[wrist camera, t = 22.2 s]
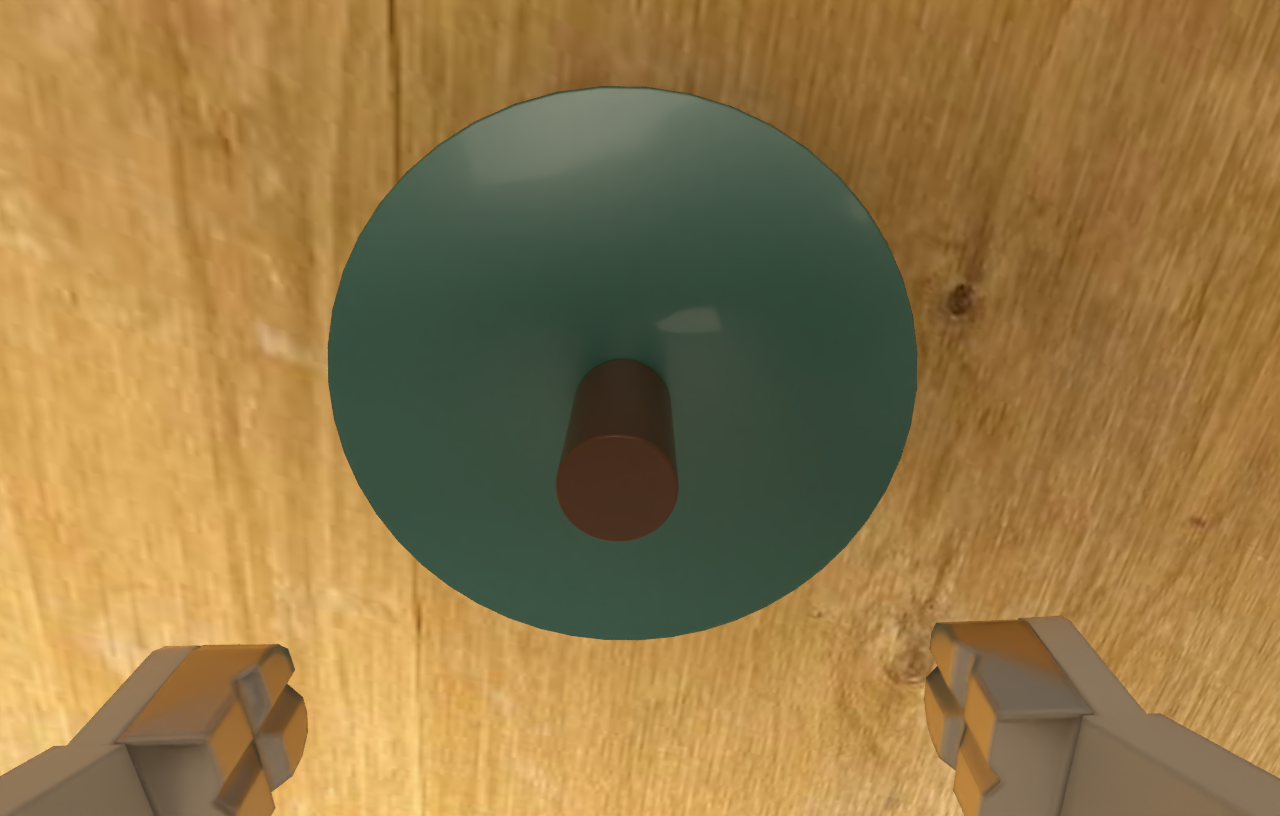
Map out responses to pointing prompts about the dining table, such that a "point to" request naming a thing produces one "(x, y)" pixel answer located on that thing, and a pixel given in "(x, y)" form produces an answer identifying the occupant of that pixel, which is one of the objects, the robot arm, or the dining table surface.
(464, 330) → the tin lid
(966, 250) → the dining table surface
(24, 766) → the robot arm
